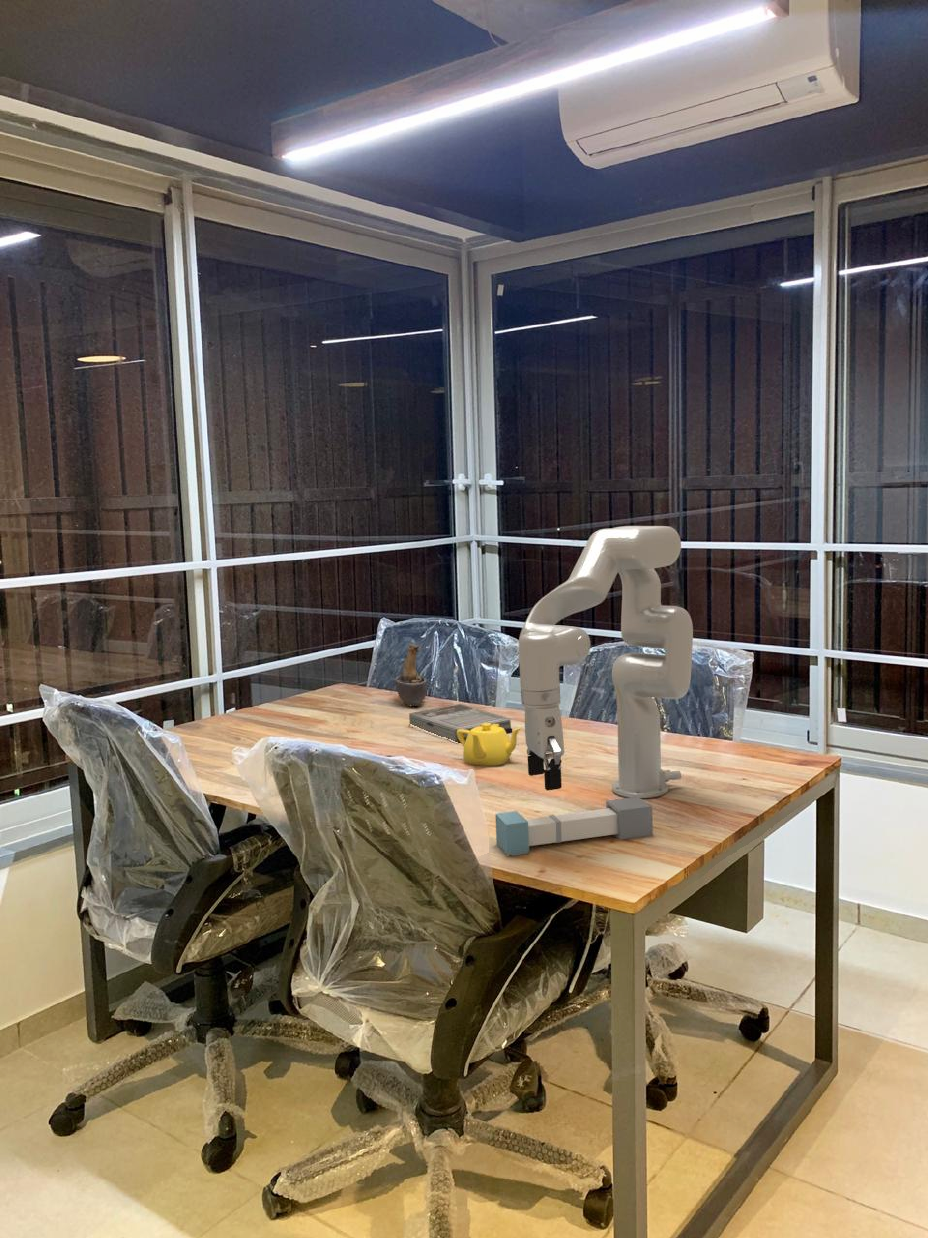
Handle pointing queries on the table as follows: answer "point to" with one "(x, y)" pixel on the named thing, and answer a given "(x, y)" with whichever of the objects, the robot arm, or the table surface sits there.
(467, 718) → the hard drive
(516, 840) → the socket
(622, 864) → the table surface
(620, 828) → the sleeve
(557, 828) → the bar
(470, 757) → the teapot
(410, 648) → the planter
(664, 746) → the table surface
